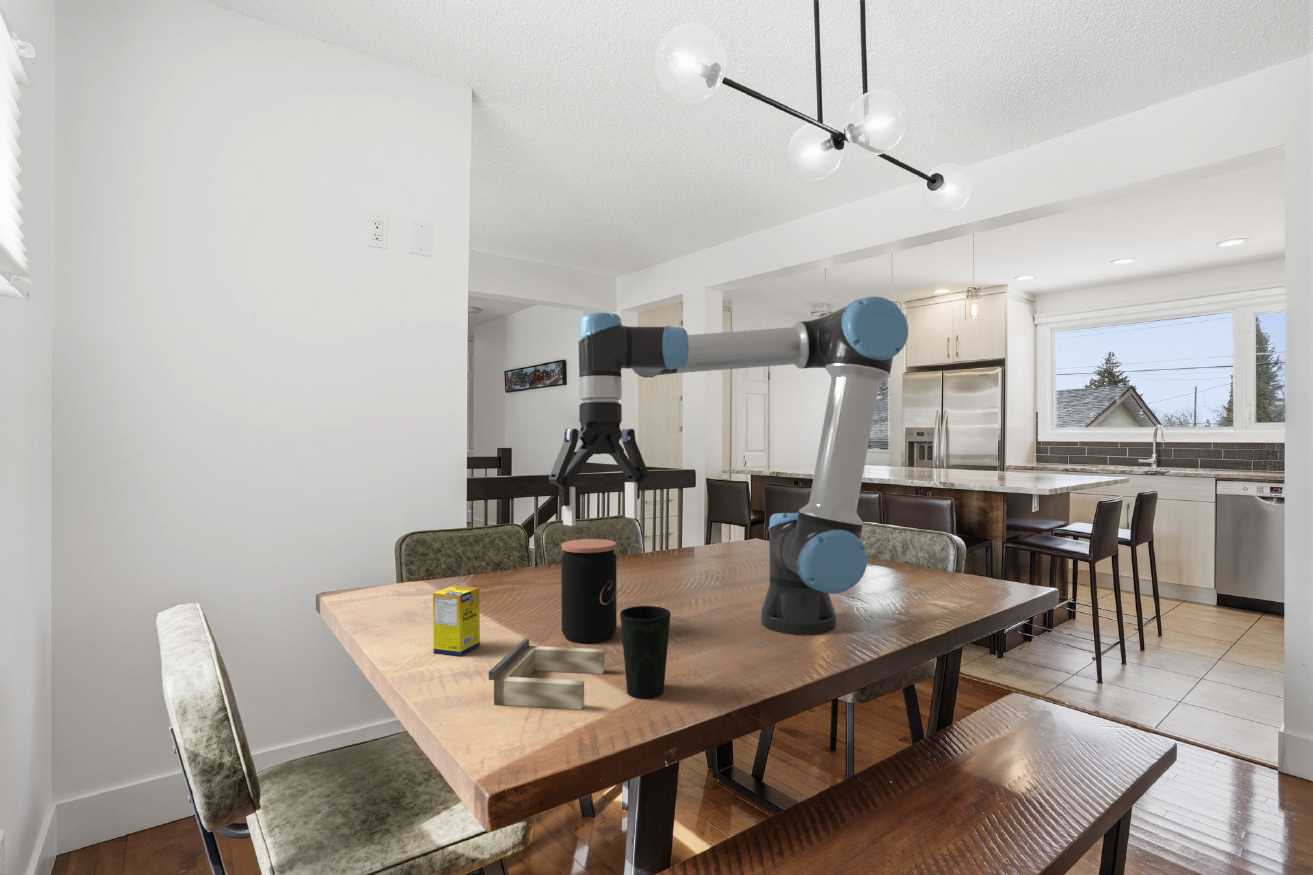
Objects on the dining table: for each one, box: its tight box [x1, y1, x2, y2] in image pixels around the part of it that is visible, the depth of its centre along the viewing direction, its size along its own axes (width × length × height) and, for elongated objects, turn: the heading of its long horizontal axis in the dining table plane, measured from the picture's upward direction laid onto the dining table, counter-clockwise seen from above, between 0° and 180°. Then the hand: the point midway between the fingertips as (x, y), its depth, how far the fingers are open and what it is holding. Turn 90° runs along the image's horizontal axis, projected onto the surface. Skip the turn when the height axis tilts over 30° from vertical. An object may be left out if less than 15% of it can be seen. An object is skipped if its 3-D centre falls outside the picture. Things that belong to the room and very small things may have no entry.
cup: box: [619, 605, 671, 700], centre depth 95 cm, size 8×8×12 cm
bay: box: [488, 638, 606, 710], centre depth 97 cm, size 14×15×5 cm
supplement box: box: [432, 585, 481, 657], centre depth 114 cm, size 6×6×11 cm
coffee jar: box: [560, 538, 618, 644], centre depth 122 cm, size 11×11×18 cm
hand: (601, 521), depth 111 cm, fingers open, 13 cm apart
